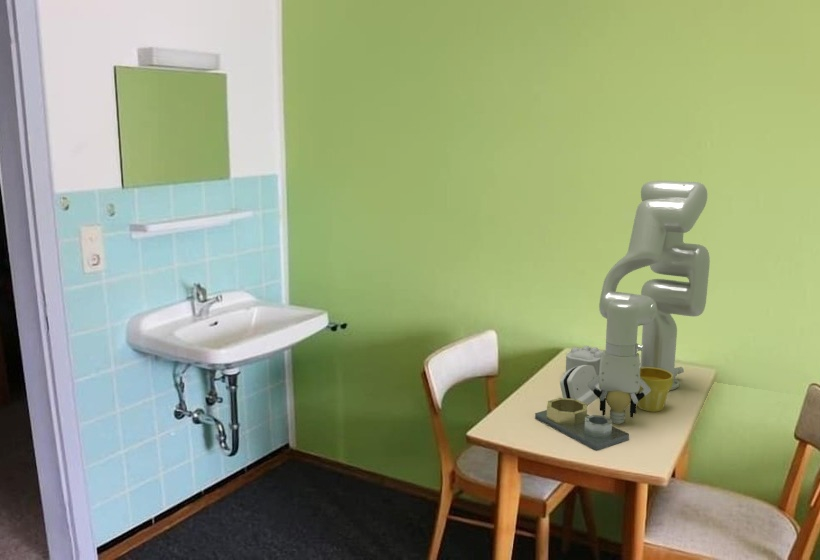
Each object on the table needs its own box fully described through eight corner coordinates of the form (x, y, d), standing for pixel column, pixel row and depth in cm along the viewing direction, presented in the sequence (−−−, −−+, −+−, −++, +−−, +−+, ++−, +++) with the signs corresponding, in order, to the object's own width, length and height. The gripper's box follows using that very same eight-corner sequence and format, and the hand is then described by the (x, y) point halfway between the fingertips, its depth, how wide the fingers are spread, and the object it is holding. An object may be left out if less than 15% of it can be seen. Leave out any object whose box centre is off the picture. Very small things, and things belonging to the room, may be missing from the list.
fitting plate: (566, 409, 190) (566, 393, 189) (628, 439, 171) (629, 422, 170) (535, 418, 184) (535, 402, 183) (596, 450, 166) (596, 433, 165)
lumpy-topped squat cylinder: (561, 378, 212) (562, 351, 211) (578, 366, 223) (579, 340, 221) (594, 385, 207) (595, 357, 205) (609, 372, 217) (611, 346, 215)
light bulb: (617, 429, 177) (618, 392, 175) (599, 420, 183) (600, 384, 180) (635, 423, 180) (637, 387, 178) (617, 415, 186) (618, 379, 183)
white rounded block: (581, 410, 189) (570, 374, 189) (565, 411, 192) (555, 376, 192) (606, 391, 202) (596, 358, 202) (591, 393, 205) (582, 360, 205)
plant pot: (674, 404, 192) (677, 370, 190) (666, 417, 183) (668, 382, 181) (636, 397, 197) (638, 364, 195) (626, 409, 189) (628, 375, 187)
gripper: (655, 346, 178) (651, 411, 182) (585, 342, 183) (583, 406, 187) (658, 355, 171) (653, 423, 175) (585, 350, 176) (582, 417, 179)
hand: (617, 414), depth 181 cm, fingers closed on light bulb, 6 cm apart
